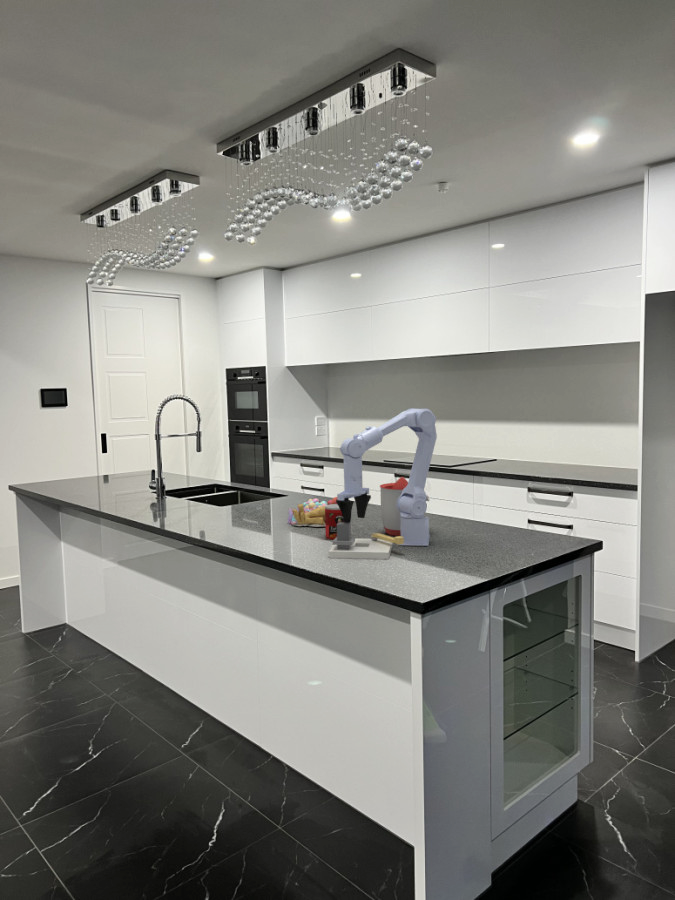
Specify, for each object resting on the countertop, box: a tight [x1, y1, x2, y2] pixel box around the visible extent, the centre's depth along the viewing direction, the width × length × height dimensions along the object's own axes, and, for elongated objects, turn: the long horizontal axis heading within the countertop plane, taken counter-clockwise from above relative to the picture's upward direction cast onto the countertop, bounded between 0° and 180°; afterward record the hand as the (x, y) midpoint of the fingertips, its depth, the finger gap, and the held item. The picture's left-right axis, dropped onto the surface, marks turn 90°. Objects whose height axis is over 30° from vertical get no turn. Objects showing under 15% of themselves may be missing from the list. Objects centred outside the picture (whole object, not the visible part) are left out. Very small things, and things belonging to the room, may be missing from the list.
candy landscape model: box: [287, 496, 337, 528], centre depth 258 cm, size 25×24×9 cm
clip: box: [370, 532, 404, 546], centre depth 211 cm, size 2×15×3 cm, turn 33°
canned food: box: [324, 504, 344, 541], centre depth 230 cm, size 8×8×11 cm
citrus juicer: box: [379, 476, 431, 537], centre depth 234 cm, size 16×17×20 cm
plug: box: [332, 522, 356, 550], centre depth 206 cm, size 6×6×8 cm
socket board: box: [328, 538, 394, 560], centre depth 210 cm, size 18×18×2 cm
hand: (354, 519), depth 210 cm, fingers open, 7 cm apart
